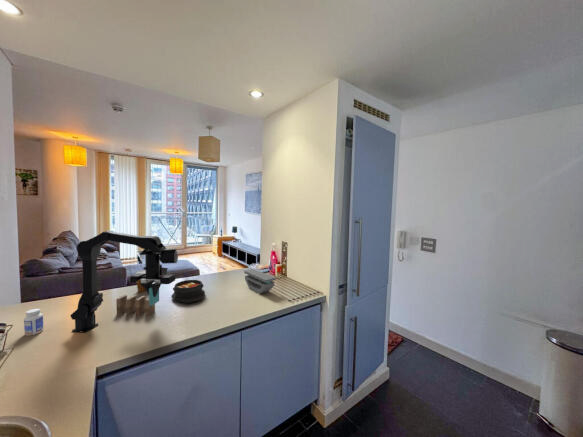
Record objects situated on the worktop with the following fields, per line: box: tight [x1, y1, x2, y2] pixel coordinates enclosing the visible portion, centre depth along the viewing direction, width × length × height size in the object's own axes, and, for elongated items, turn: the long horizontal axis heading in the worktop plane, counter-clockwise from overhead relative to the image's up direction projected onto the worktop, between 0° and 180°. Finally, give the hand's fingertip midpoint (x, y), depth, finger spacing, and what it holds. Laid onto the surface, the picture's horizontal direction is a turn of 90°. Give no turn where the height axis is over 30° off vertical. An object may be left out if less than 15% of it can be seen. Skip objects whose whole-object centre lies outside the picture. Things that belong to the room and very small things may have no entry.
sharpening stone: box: [243, 268, 276, 295], centre depth 153 cm, size 25×8×11 cm, turn 43°
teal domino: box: [148, 287, 160, 305], centre depth 108 cm, size 5×2×8 cm, turn 177°
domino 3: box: [135, 295, 146, 316], centre depth 118 cm, size 5×2×8 cm, turn 177°
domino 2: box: [125, 294, 137, 316], centre depth 118 cm, size 5×2×8 cm, turn 177°
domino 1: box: [115, 294, 128, 315], centre depth 118 cm, size 5×2×8 cm, turn 177°
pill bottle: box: [23, 308, 44, 337], centre depth 98 cm, size 5×5×10 cm
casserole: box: [171, 279, 206, 304], centre depth 139 cm, size 25×19×8 cm
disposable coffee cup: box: [134, 269, 147, 293], centre depth 147 cm, size 10×10×12 cm
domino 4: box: [144, 297, 156, 317], centre depth 118 cm, size 5×2×8 cm, turn 177°
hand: (153, 296), depth 107 cm, fingers closed on teal domino, 2 cm apart
